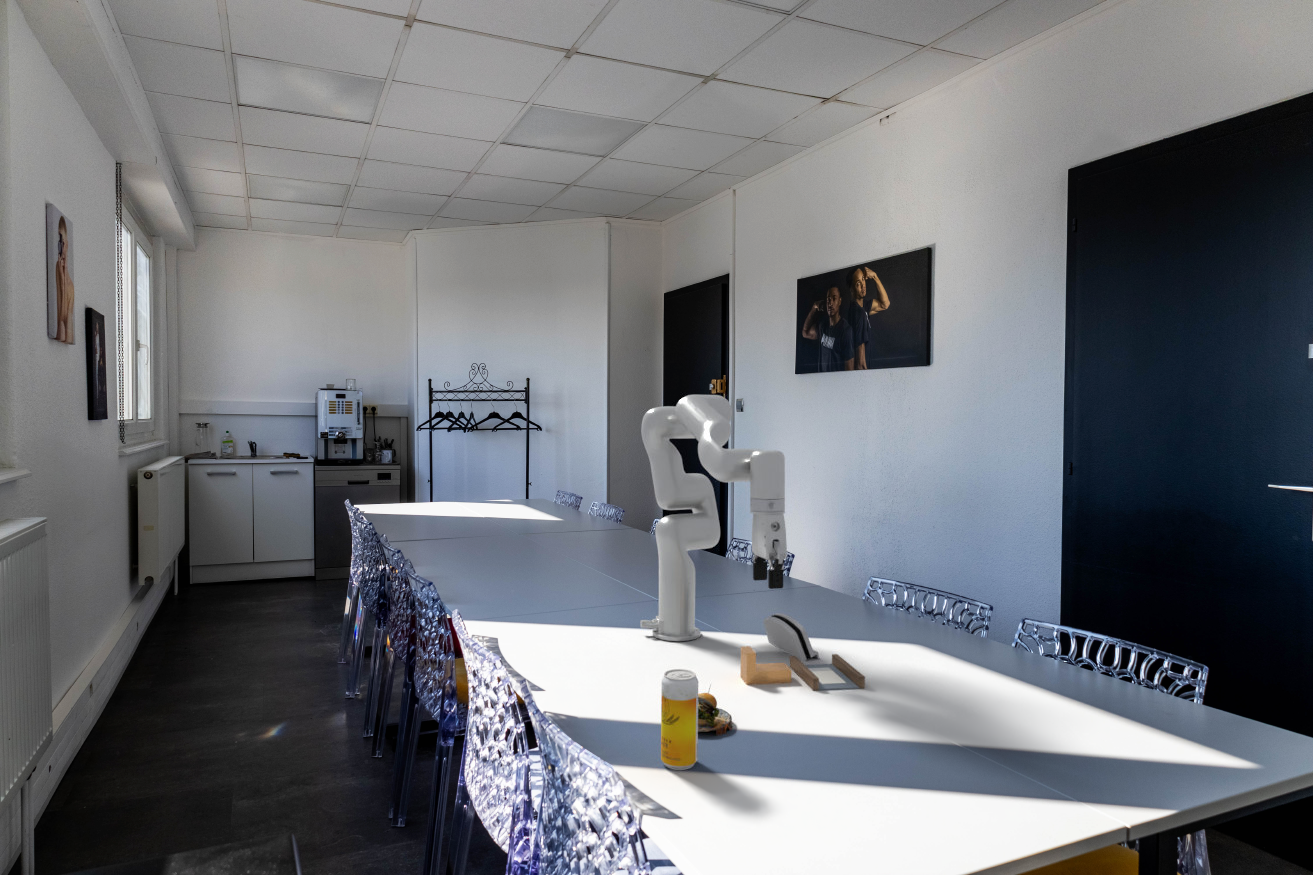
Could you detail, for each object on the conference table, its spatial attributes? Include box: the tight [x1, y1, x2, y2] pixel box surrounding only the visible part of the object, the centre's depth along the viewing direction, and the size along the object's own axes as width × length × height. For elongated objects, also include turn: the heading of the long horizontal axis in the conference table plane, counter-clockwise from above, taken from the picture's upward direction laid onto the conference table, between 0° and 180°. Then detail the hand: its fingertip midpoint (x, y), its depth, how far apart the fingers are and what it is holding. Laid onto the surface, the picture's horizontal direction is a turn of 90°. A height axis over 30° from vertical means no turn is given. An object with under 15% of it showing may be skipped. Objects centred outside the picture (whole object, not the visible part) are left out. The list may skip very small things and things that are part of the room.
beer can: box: [660, 668, 699, 771], centre depth 134 cm, size 6×6×15 cm
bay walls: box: [789, 653, 866, 692], centre depth 179 cm, size 11×16×2 cm
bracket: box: [739, 645, 792, 686], centre depth 177 cm, size 10×5×7 cm, turn 99°
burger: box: [698, 684, 733, 736], centre depth 151 cm, size 12×12×8 cm
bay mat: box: [804, 663, 860, 691], centre depth 179 cm, size 9×16×1 cm, turn 9°
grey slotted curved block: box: [763, 612, 821, 662], centre depth 198 cm, size 17×5×10 cm, turn 21°
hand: (767, 583), depth 178 cm, fingers open, 9 cm apart
